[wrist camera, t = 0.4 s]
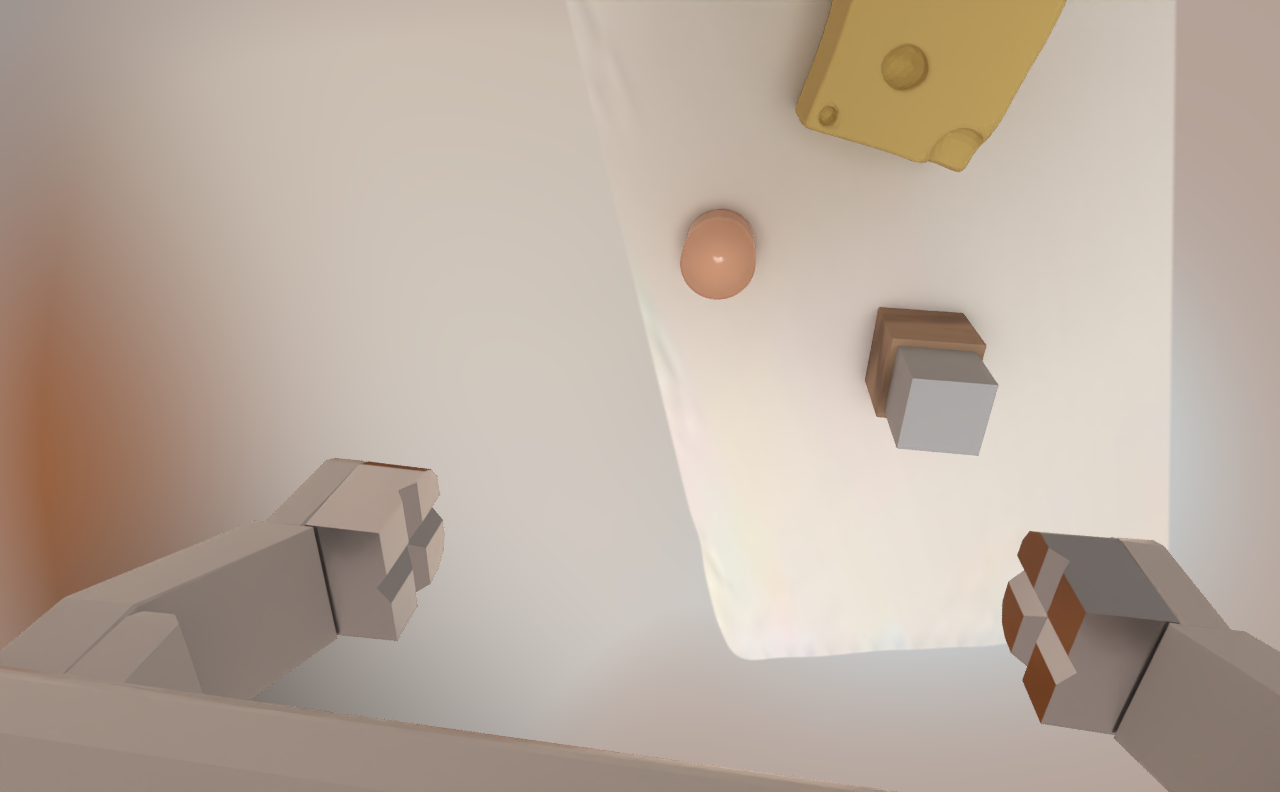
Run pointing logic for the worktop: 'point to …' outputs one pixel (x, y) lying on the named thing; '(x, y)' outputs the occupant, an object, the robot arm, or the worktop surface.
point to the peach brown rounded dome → (718, 254)
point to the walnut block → (913, 343)
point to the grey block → (939, 400)
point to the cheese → (923, 72)
